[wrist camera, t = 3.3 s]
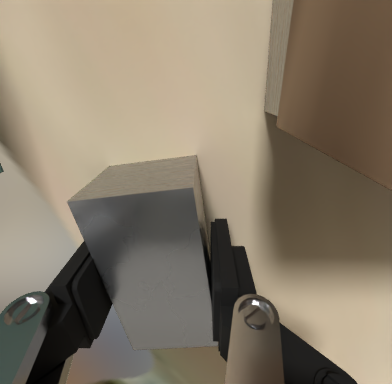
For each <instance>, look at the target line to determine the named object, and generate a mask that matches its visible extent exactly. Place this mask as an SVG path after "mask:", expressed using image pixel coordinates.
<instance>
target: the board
mask: <svg viewBox="0 0 392 384" xmlns="http://www.w3.org/2000/svg"><path fill="white" fill-rule="evenodd" d="M276 127H278V128H279V129H281V130H283V131H285V132H287V133H289V134H290V135H292V136H294V137H296V138H298V139H299V140H301V141H303V142H305V143H307V144H308V145H310V146H312V147H314V148H316V149H317V150H319V151H321V152H323V153H325V154H327V155H328V156H330V157H332V158H334V159H336V160H337V161H339V162H341V163H343V164H345V165H346V166H348V167H350V168H352V169H354V170H355V171H357V172H359V173H361V174H363V175H364V176H366V177H368V178H370V179H372V180H374V181H375V182H377V183H379V184H381V185H383V186H384V187H386V188H388V189H390V190H392V0H294V1H293V8H292V16H291V23H290V30H289V38H288V45H287V52H286V60H285V67H284V74H283V82H282V89H281V96H280V104H279V111H278V118H277V126H276Z"/></svg>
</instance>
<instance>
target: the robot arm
mask: <svg viewBox="0 0 392 384" xmlns="http://www.w3.org/2000/svg"><path fill="white" fill-rule="evenodd" d="M210 266H211V293H212V329H213V341H216V342H218V346H219V351H220V355H221V356H222V357H223V358H224V360H225V361H226V362H227V368H226V376H225V384H357V382H356V381H355V380H354V379H353V378H352V377H351V376H350V375H348V374H347V373H346V372H345V371H344V370H342V369H341V368H340V367H338V366H337V365H336V364H334V363H333V362H332V361H330V360H329V359H328V358H326V357H325V356H324V355H322V354H321V353H320V352H318V351H317V350H316V349H314V348H313V347H312V346H310V345H309V344H308V343H306V342H305V341H304V340H302V339H301V338H300V337H298V336H297V335H296V334H294V333H293V332H291V331H290V330H289V329H287V328H286V327H285V326H283V325H282V324H281V323H279V316H278V312H277V310H276V308H275V306H274V305H273V304H272V303H271V302H270V301H269V300H267V299H266V298H264V297H262V296H259V295H257V294H256V290H255V286H254V282H253V278H252V274H251V270H250V266H249V262H248V258H247V255H246V251H245V247H244V246H231V241H230V235H229V230H228V224H227V219H215V222H211V247H210ZM112 304H113V303H112V301H111V299H110V297H109V294H108V292H107V290H106V288H105V285H104V283H103V281H102V279H101V277H100V274H99V272H98V270H97V268H96V265H95V263H94V260H93V258H92V256H91V254H90V252H89V250H88V247H87V245H86V243H85V241H84V242H83V243H82V244H81V246H80V247H79V248H78V249H77V251H76V252H75V253H74V255H73V256H72V257H71V258H70V260H69V261H68V262H67V264H66V265H65V266H64V268H63V269H62V270H61V271H60V273H59V274H58V275H57V277H56V278H55V279H54V280H53V282H52V283H51V284H50V286H49V287H48V288H47V290H46V291H45V292H41V291H39V292H32V293H28V294H25V295H23V296H21V297H19V298H17V299H16V300H14V301H13V302H11V304H9V305H8V306H7V307H6V308H5V309H4V310H3V311H2V313H1V314H0V384H66V381H67V378H68V374H69V371H70V367H71V363H72V360H73V354H74V353H76V352H77V350H78V348H90V347H91V345H92V342H93V340H94V339H97V338H98V337H99V334H100V332H101V330H102V328H103V325H104V323H105V320H106V318H107V315H108V313H109V311H110V308H111V306H112Z"/></svg>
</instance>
